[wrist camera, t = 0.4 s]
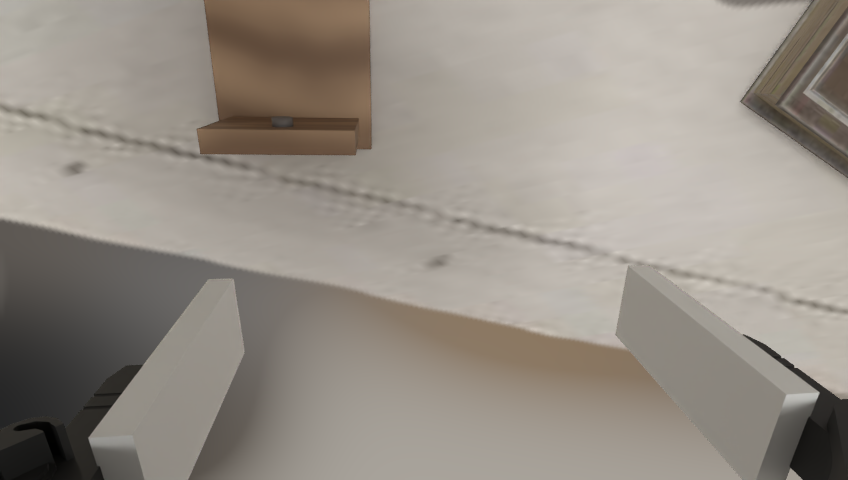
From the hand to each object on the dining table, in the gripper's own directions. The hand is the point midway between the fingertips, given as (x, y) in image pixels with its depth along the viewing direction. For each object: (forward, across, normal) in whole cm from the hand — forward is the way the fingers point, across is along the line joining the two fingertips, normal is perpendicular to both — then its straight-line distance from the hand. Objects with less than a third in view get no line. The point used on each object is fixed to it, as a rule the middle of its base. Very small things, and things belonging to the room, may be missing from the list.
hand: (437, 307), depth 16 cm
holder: (+27, -8, +9) cm, 30 cm away
